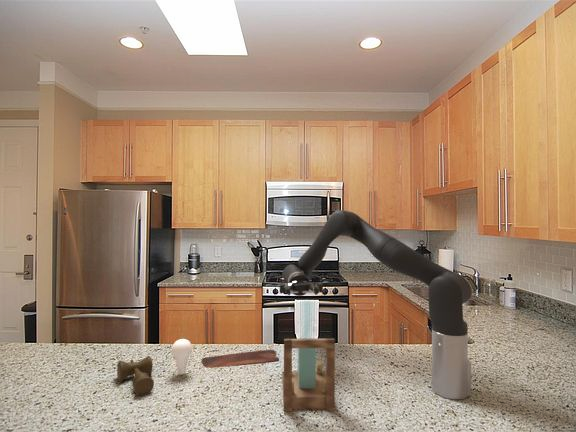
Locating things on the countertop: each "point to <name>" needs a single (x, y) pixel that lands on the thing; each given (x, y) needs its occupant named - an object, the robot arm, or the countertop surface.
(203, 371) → the countertop surface
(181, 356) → the lightbulb
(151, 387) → the kendama
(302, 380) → the teal block
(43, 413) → the countertop surface
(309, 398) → the peg shelf
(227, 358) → the wooden tablet
